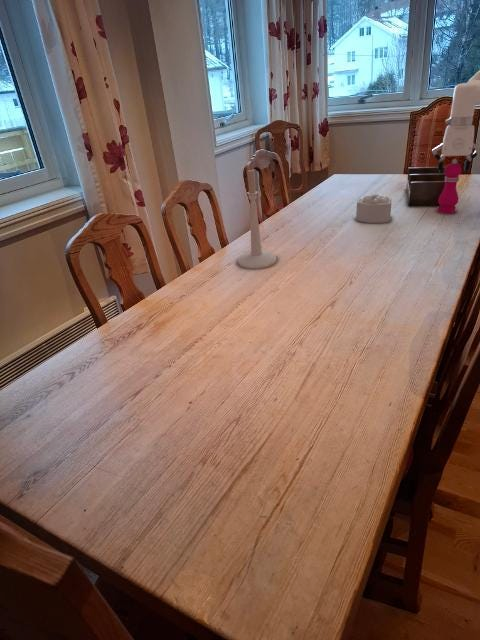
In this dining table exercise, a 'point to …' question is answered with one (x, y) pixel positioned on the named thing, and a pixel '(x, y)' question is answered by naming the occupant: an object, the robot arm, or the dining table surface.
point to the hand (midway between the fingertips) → (452, 171)
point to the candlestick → (255, 235)
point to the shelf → (425, 186)
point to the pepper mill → (450, 188)
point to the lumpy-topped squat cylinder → (374, 209)
